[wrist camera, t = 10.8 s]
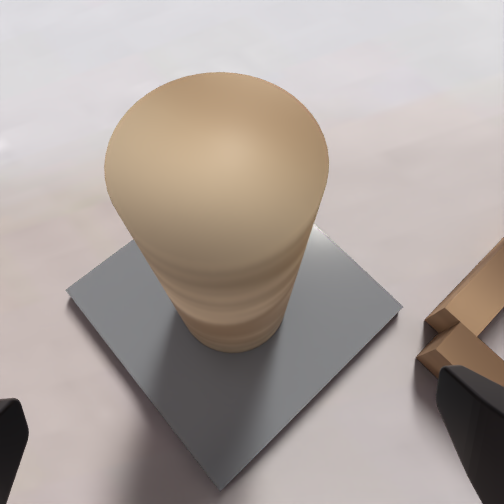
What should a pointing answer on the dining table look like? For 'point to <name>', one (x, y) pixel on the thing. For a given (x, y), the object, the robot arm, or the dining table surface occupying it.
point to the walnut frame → (469, 321)
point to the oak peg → (220, 199)
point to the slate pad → (234, 364)
